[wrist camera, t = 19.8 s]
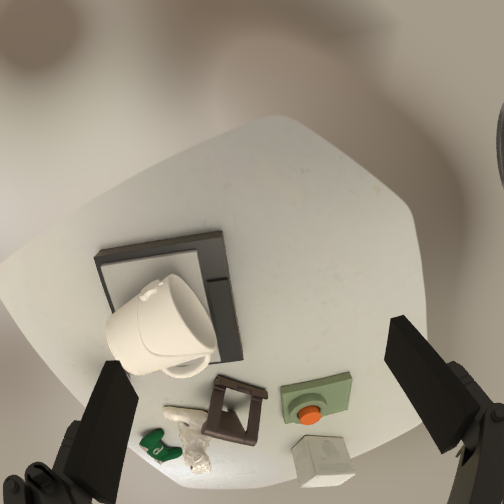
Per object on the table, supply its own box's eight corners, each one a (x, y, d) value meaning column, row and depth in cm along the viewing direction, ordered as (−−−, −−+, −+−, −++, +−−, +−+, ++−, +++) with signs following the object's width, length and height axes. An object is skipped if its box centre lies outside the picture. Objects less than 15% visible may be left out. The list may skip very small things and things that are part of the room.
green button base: (349, 371, 46) (356, 385, 43) (344, 403, 49) (350, 416, 46) (280, 386, 45) (284, 401, 42) (283, 417, 49) (286, 431, 45)
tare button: (318, 402, 44) (321, 410, 42) (318, 415, 45) (320, 422, 43) (297, 407, 44) (299, 415, 42) (298, 419, 45) (300, 426, 43)
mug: (113, 296, 33) (91, 333, 26) (174, 261, 33) (161, 295, 25) (168, 363, 38) (161, 405, 30) (227, 337, 37) (229, 380, 29)
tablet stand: (267, 388, 45) (275, 427, 37) (245, 414, 47) (249, 451, 40) (219, 373, 43) (220, 413, 35) (199, 401, 45) (197, 440, 37)
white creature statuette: (160, 404, 45) (152, 460, 34) (206, 397, 45) (205, 455, 34) (182, 433, 48) (179, 484, 37) (224, 427, 48) (227, 480, 37)
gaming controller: (153, 421, 49) (132, 439, 45) (163, 430, 46) (141, 449, 43) (175, 444, 52) (157, 461, 49) (185, 453, 50) (166, 470, 46)
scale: (222, 230, 35) (222, 239, 32) (242, 349, 42) (244, 363, 39) (100, 250, 35) (90, 259, 32) (139, 359, 41) (134, 373, 38)
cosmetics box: (289, 449, 54) (298, 488, 44) (305, 434, 52) (316, 475, 42) (328, 451, 56) (339, 486, 46) (343, 437, 54) (357, 473, 44)
